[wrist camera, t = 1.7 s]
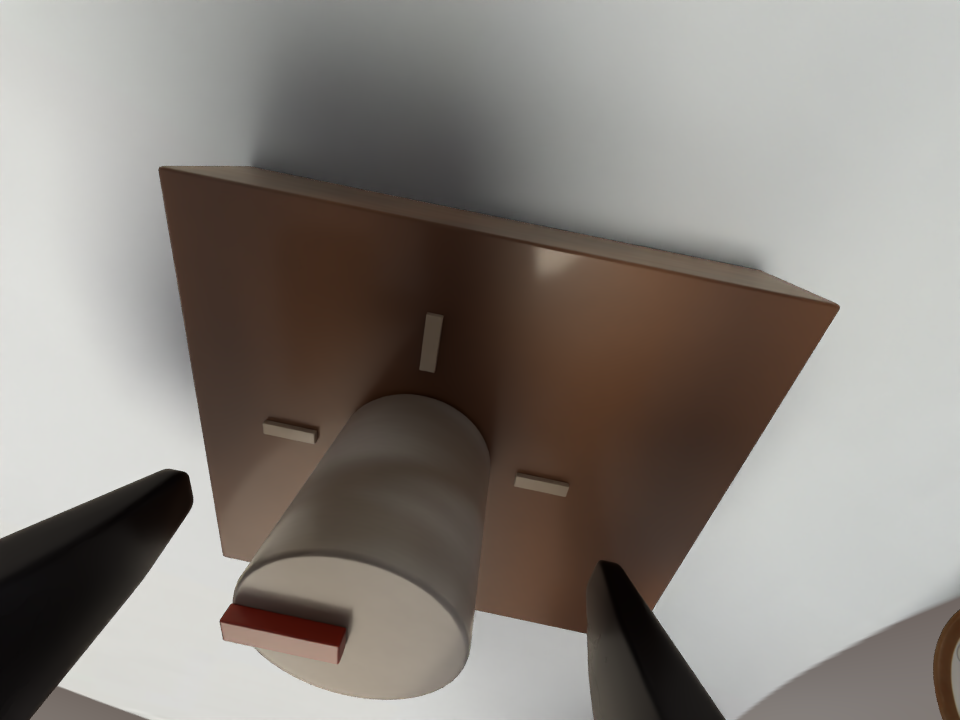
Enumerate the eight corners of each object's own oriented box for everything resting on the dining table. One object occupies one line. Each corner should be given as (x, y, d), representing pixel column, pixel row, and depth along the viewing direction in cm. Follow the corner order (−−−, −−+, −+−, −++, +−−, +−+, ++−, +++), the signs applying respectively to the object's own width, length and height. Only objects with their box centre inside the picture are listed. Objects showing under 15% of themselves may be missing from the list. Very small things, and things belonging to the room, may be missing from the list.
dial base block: (762, 270, 11) (850, 308, 8) (613, 563, 16) (633, 649, 13) (248, 165, 11) (149, 165, 8) (272, 491, 16) (218, 561, 13)
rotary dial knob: (504, 411, 10) (489, 607, 5) (476, 525, 11) (447, 741, 7) (344, 378, 10) (200, 546, 5) (340, 496, 11) (230, 694, 7)
